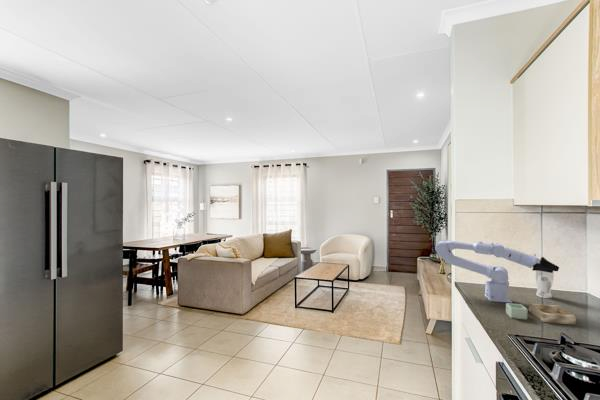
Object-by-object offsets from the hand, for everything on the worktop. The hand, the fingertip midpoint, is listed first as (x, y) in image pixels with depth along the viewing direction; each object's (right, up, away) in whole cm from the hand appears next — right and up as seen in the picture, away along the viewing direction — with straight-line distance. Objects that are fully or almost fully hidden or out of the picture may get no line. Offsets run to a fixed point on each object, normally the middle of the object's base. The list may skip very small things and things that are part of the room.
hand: (555, 270), depth 130 cm
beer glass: (+9, -18, +17) cm, 26 cm away
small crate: (-22, -19, -6) cm, 30 cm away
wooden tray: (-8, -19, -7) cm, 22 cm away
